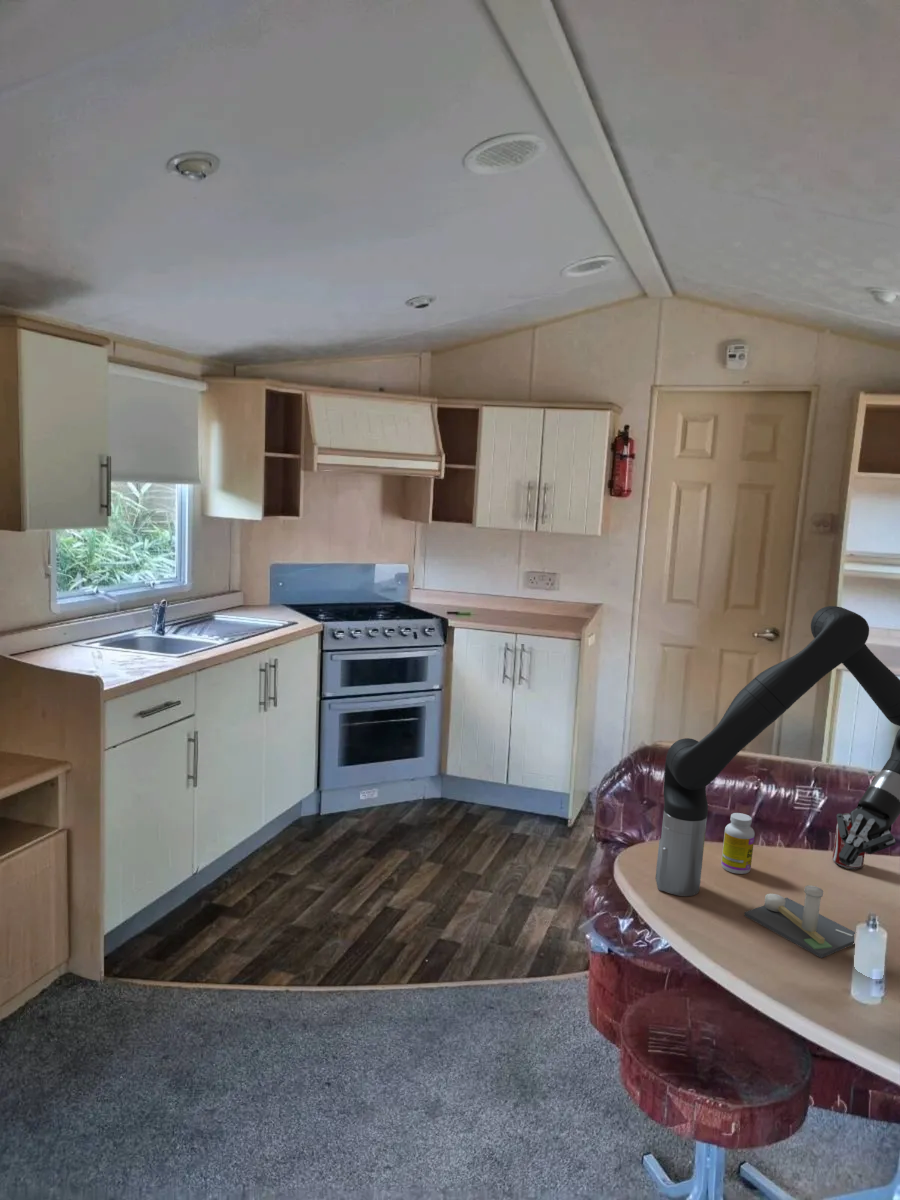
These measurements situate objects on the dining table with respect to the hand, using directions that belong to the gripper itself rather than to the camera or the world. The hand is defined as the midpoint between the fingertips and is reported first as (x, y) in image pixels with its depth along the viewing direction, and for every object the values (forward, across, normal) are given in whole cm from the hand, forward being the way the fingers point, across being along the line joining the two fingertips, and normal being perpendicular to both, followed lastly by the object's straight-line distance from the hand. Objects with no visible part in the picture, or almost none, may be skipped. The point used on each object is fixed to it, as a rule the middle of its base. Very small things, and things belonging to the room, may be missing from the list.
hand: (843, 862), depth 178 cm
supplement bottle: (+8, -27, +12) cm, 31 cm away
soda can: (-11, -16, +31) cm, 37 cm away
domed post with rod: (+16, -3, +2) cm, 16 cm away
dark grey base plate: (+15, -2, +5) cm, 16 cm away
